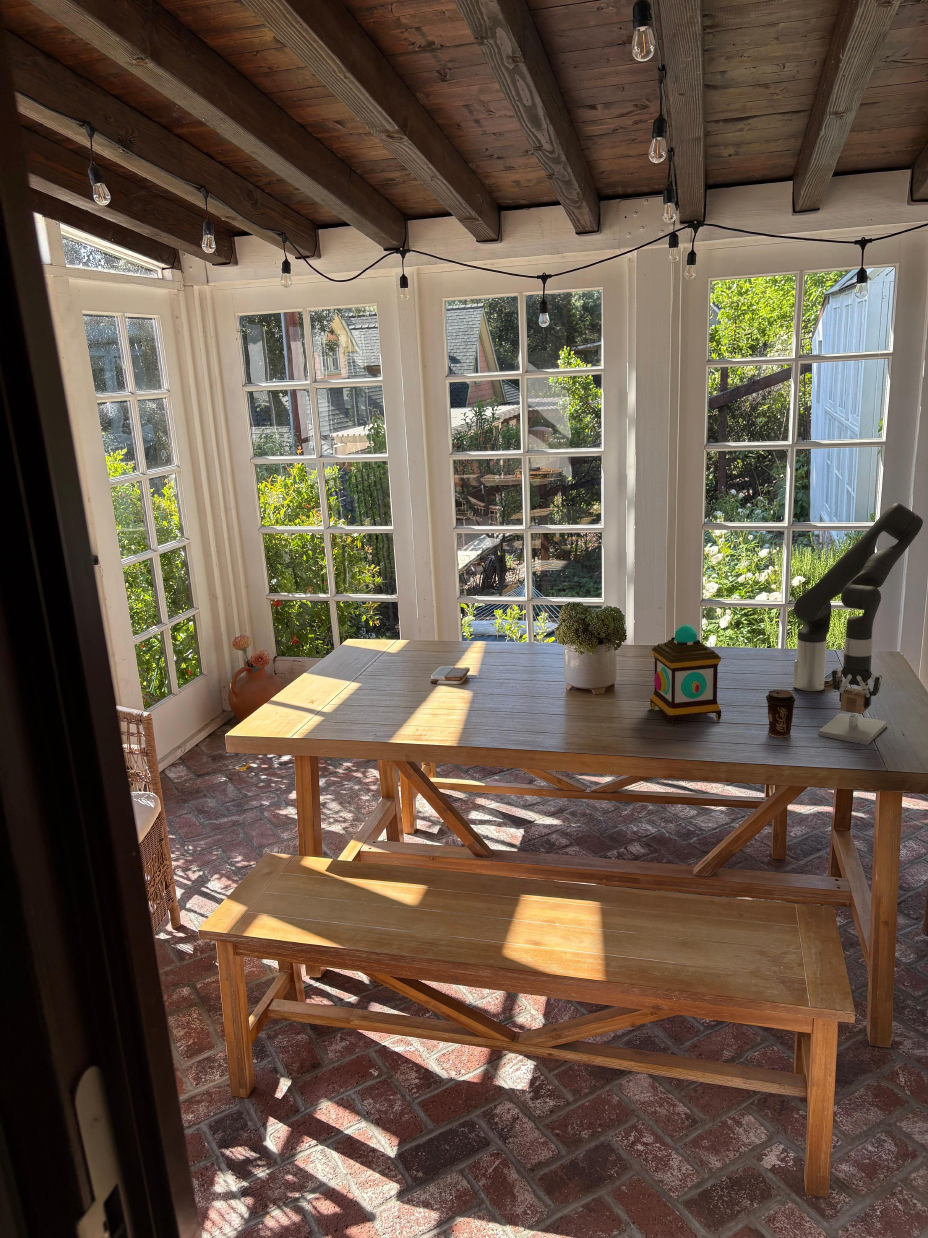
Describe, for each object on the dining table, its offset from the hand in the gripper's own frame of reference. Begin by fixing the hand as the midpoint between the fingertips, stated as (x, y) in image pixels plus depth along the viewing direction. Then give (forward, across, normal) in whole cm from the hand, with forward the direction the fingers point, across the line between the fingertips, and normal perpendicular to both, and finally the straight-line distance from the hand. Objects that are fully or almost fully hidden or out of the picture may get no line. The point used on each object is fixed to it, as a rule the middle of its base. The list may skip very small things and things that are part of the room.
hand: (854, 705), depth 271 cm
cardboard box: (+1, 0, 0) cm, 1 cm away
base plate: (+8, 0, 0) cm, 8 cm away
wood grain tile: (+6, 0, 0) cm, 6 cm away
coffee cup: (+8, +17, +14) cm, 24 cm away
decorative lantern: (+8, +48, +14) cm, 51 cm away
